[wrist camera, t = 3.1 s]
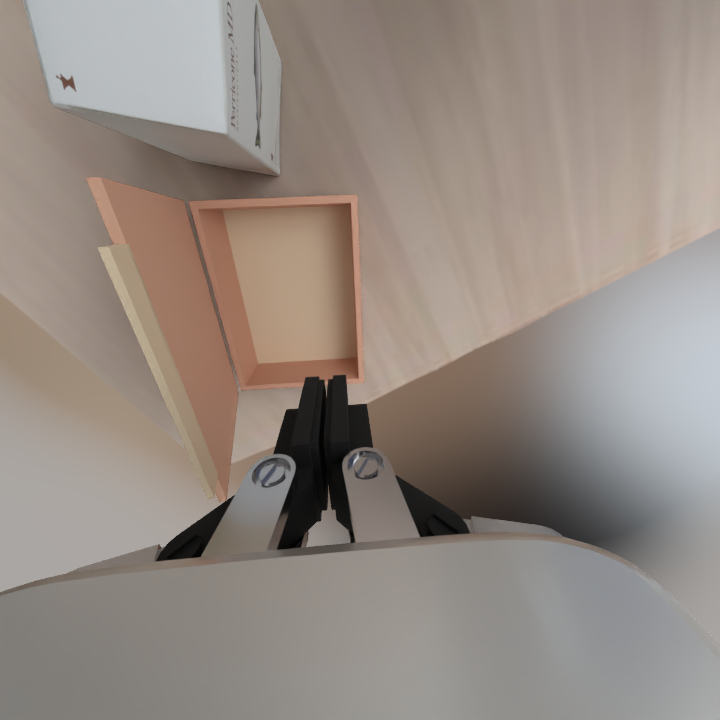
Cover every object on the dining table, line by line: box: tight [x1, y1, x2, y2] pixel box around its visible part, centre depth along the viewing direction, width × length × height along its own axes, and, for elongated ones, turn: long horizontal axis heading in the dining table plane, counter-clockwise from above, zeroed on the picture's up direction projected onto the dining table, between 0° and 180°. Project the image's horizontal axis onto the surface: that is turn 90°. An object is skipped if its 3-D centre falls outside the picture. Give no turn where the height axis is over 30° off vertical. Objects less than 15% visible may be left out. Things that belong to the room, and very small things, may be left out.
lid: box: [86, 177, 238, 502], centre depth 17 cm, size 13×16×1 cm
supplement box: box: [23, 0, 282, 176], centre depth 16 cm, size 7×7×13 cm
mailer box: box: [189, 194, 364, 390], centre depth 26 cm, size 12×16×5 cm
